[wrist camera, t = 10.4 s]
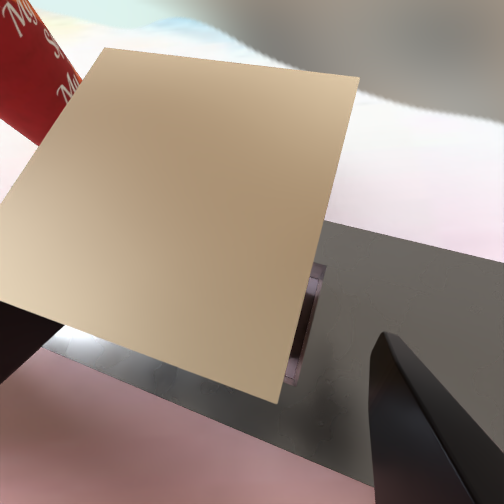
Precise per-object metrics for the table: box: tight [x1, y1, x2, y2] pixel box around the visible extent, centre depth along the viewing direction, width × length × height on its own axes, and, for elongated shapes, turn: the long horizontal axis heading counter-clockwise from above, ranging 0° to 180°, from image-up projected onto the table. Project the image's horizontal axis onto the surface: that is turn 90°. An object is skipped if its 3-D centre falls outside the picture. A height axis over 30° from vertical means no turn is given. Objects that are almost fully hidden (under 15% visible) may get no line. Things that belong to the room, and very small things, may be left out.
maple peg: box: [0, 48, 360, 404], centre depth 10 cm, size 4×4×14 cm
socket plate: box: [42, 220, 504, 487], centre depth 15 cm, size 11×24×3 cm, turn 72°
